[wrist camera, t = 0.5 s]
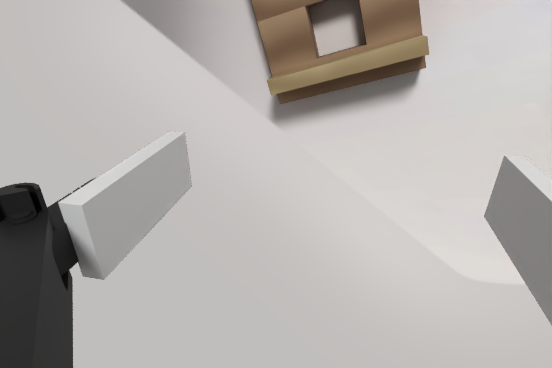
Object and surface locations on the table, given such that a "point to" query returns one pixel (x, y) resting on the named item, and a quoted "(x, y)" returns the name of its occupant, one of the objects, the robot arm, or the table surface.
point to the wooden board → (343, 64)
